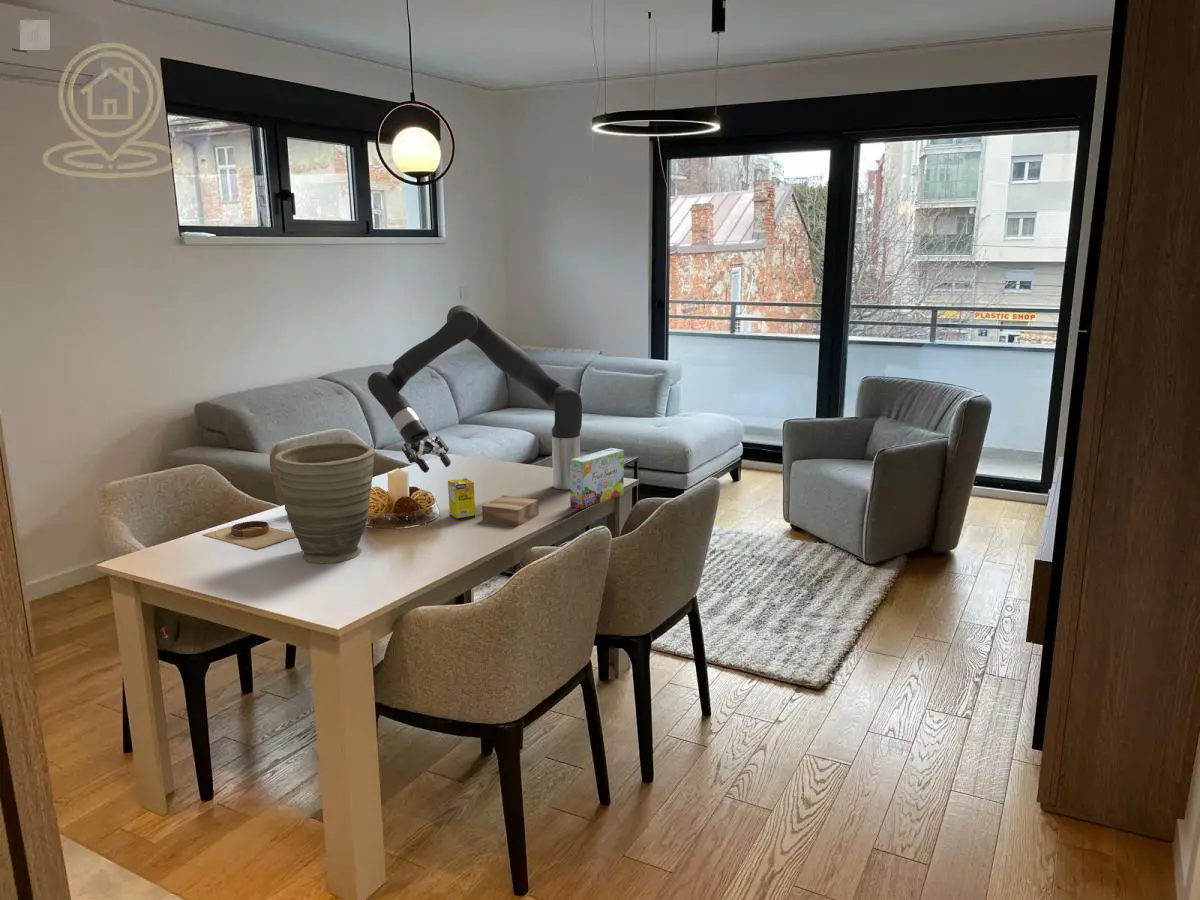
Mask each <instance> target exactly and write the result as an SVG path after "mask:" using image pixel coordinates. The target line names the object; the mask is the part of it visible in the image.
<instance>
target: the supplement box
mask: <svg viewBox="0 0 1200 900" xmlns="http://www.w3.org/2000/svg"><path fill="white" fill-rule="evenodd" d="M447 489H448V491H447V492H448V509H449V511H448V512H449V517H451V518H452V519H454V520H456V521H462V520H463V521H464V520H470V519H475V518H476V501H475V499H476V498H475V482H474V481H472V480H470V479H469V478H467V477H464V478H458V479H457V478H456V479H450V480H449V479H448V481H447Z"/></svg>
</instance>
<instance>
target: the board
mask: <svg viewBox="0 0 1200 900" xmlns="http://www.w3.org/2000/svg"><path fill="white" fill-rule="evenodd" d="M269 525H270V524H269V523H268V522H266V521H265V520H263V521H262V520H251V521H250V520H249V521H243V522H238V523H236V524H233V525H230V526H227V527H226V526H225V527H223V528H220V529H217V530H213V531H210V532H207V533H204V534H202V535H201V536H202V537H206V538H209V539H213V540H217V541H220V542H224V543H228V544H231V545H235V546H238V547H242V548H246V549H250V550H253V551H258V550H262V549H266V548H270V547H272V546H274V545H277V544H280V543H281V544H282V543H284V542H286V541H290V540H292V539H295V538H296V539H297V537H296V535H295V533H294V532H291V531H290V532H289V531H287V530H283V529H278V528H273V527H270V526H269Z"/></svg>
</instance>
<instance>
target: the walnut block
mask: <svg viewBox="0 0 1200 900" xmlns="http://www.w3.org/2000/svg"><path fill="white" fill-rule="evenodd" d="M481 511H482V512H481V513H482V514H481V515H482V517H481V518H482V522H486V523H492V524H493V523H494V524H500V525H506V526H515V527H520V526H521V525H523V524H525V523H527V522H529V521H531V520H532V519H534V518H536V517H538V516H539V515H540V513H539V512H540V510H539V499H537V498H536V499H534V498H526V497H519V496H518V497H517V496H512V495H511V496H510V495H501V496H499V497H498V498H495V499H493V500H491V501H489V502H487V503H485V504H483V505H482V506H481Z"/></svg>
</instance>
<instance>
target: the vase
mask: <svg viewBox="0 0 1200 900" xmlns="http://www.w3.org/2000/svg"><path fill="white" fill-rule="evenodd" d="M374 453H375V449H374V447H372V446H370V445H368V444H365V443H359V442H353V441H352V442H351V441H350V442H319V443H314V444H307V445H301V446H296V447H292V448H289V449H285V450H282V451H280V452H278V453H277V454H275V455H274V458H275V459H274V460H275V467H276V471H277V476H278V478H279V482H280V492H281V494H282V497H283V501H284V510H285V512H286V516H287V520H288V522H289V524H290V527H291V530H292V531H293V533H295V535H296V539H297V541H298V545H299V546H300V549H301V551H302V553H303V554H302V555H301V558H302V559H303V560H304V561H305V562H308V563H312V564H333V563H340V562H345V561H349V560H352V559H355V558H356V557H358V556H359V555H360V554H361V552H362V550H361V549H362V548H360V547H359V543H360V542H361V538H362V535H363V534H364V532H365V529H366V524H367V522H368V517H369V511H370V510H369V509H370V507H371V504H370V498H371V489H372V486H373V485H372V482H373V478H374V477H373V476H374V475H373V472H374V464H375V461H374V460H375V458H374V457H375V455H374Z"/></svg>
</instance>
